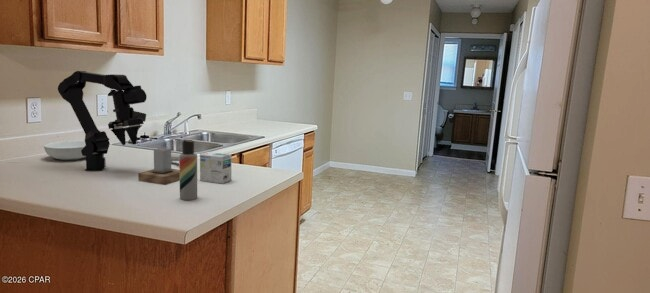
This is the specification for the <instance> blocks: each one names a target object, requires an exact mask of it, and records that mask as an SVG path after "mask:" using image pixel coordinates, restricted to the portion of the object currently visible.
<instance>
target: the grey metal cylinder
mask: <svg viewBox="0 0 650 293" xmlns="http://www.w3.org/2000/svg"><path fill="white" fill-rule="evenodd" d="M180 154H181V153H180ZM180 154H179V153H172V152H171V162H179V155H180Z"/></svg>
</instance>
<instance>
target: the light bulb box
mask: <svg viewBox="0 0 650 293" xmlns="http://www.w3.org/2000/svg"><path fill="white" fill-rule="evenodd" d="M199 181H200V182H201V181H202V182H209V183H216V184H223V185H224V183H227V182H231V181H232V154H230V153H229V154H228V153H221V152H211V151H208V152H204V153H200V154H199Z"/></svg>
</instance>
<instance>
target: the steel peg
mask: <svg viewBox="0 0 650 293" xmlns="http://www.w3.org/2000/svg"><path fill="white" fill-rule="evenodd" d="M171 153H172V149H171V148H164V147H160V148H156V149H155V148H154V149H153V169H154V173H157V174H167V173H171V169H172V161H171Z"/></svg>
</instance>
